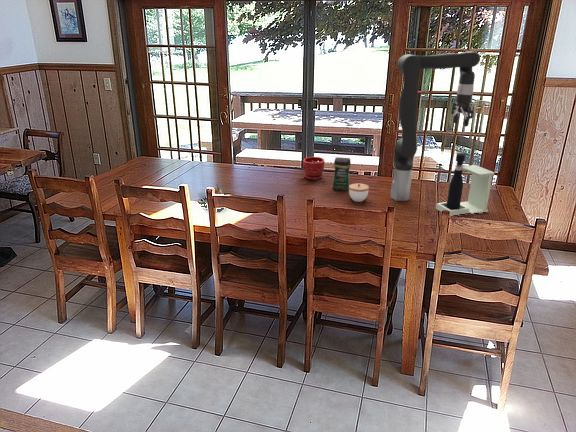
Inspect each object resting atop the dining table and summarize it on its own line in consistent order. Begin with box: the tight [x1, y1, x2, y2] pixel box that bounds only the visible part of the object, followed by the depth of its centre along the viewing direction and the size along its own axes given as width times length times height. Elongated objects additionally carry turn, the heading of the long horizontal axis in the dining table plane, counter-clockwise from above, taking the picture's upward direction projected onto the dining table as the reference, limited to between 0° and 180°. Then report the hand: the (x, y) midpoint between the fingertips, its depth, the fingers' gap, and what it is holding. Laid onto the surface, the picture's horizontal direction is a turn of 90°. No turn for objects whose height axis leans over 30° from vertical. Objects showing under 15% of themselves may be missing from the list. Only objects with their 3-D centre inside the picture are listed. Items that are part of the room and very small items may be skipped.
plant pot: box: [302, 156, 325, 181], centre depth 282 cm, size 13×13×12 cm
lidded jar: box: [348, 182, 370, 203], centre depth 247 cm, size 11×11×9 cm
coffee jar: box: [332, 156, 352, 191], centre depth 262 cm, size 10×8×19 cm
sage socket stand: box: [435, 164, 495, 217], centre depth 230 cm, size 22×14×21 cm, turn 109°
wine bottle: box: [446, 153, 466, 210], centre depth 227 cm, size 6×6×30 cm
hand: (460, 124), depth 237 cm, fingers open, 8 cm apart
